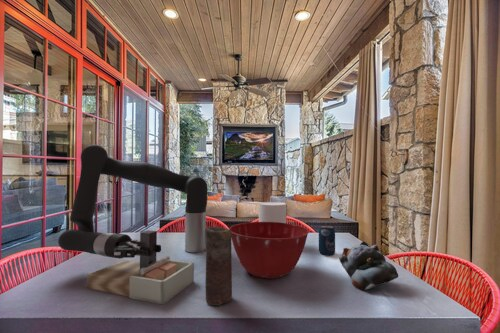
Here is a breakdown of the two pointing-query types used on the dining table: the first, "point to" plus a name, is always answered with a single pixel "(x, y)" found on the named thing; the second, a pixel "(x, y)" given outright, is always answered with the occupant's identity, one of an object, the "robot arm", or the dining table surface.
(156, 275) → the tile
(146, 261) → the dark piece
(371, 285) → the lucky cat figurine
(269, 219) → the canister
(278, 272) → the mixing bowl
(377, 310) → the dining table surface
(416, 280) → the dining table surface
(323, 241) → the soda can
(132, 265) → the curved wooden platform
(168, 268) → the tile
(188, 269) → the tray
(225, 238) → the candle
